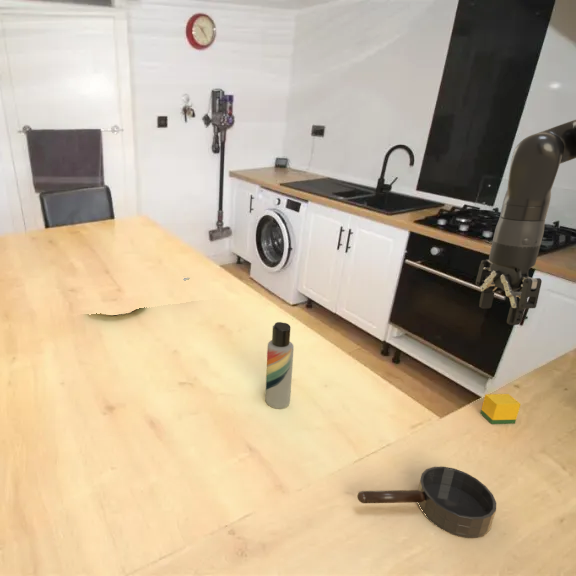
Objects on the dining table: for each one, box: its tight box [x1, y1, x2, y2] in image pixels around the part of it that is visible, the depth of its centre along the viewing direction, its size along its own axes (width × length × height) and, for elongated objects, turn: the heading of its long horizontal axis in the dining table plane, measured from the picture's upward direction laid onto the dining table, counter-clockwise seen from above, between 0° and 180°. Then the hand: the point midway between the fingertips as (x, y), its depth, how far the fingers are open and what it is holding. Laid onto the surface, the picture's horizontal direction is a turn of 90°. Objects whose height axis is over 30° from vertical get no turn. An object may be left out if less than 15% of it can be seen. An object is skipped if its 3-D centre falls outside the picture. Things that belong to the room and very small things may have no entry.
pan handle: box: [356, 489, 425, 504], centre depth 67 cm, size 11×2×2 cm, turn 90°
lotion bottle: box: [264, 321, 295, 410], centre depth 92 cm, size 6×6×20 cm
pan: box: [417, 466, 497, 539], centre depth 67 cm, size 10×10×4 cm
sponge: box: [480, 393, 521, 425], centre depth 87 cm, size 5×4×5 cm
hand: (498, 315), depth 86 cm, fingers open, 8 cm apart
